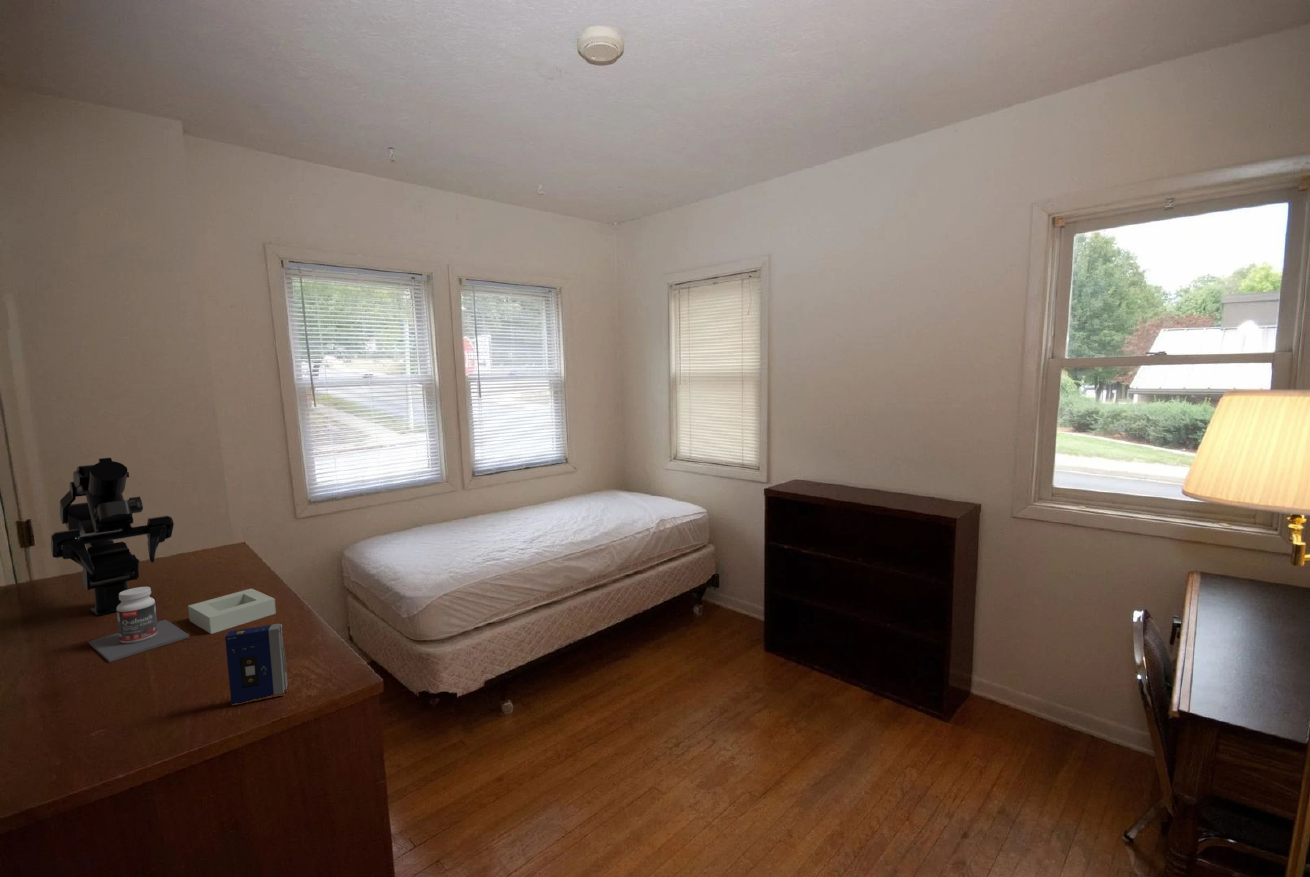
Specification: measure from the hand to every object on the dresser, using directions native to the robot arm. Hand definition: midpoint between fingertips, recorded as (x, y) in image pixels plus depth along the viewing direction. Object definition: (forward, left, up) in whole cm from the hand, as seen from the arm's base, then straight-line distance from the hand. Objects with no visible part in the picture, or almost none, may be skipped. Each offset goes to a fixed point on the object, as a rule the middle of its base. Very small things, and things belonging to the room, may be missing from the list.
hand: (124, 567), depth 116 cm
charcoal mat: (+9, -1, -13) cm, 16 cm away
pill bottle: (+9, -1, -13) cm, 16 cm away
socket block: (+12, +14, -13) cm, 23 cm away
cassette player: (+54, +3, -14) cm, 56 cm away
